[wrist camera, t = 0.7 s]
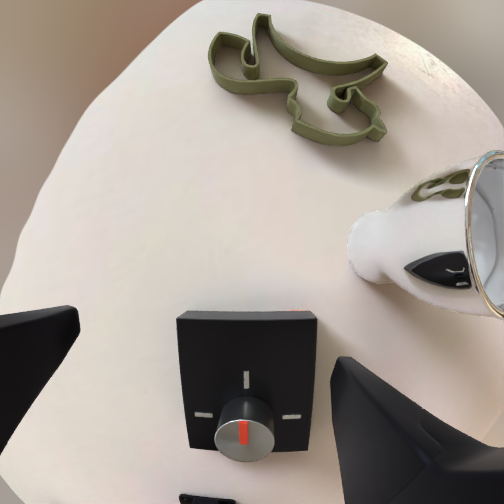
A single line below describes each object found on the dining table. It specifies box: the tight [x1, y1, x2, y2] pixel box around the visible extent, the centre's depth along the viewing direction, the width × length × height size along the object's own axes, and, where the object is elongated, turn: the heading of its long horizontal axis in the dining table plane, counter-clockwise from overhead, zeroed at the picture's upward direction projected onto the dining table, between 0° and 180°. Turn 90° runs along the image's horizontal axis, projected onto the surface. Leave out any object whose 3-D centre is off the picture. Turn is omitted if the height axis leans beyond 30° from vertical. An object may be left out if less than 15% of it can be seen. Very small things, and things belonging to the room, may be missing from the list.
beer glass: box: [347, 150, 504, 320], centre depth 14 cm, size 7×7×15 cm
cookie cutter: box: [208, 13, 388, 146], centre depth 21 cm, size 18×12×2 cm, turn 64°
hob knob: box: [215, 396, 275, 462], centre depth 17 cm, size 4×4×4 cm
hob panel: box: [176, 311, 317, 452], centre depth 20 cm, size 12×10×3 cm
